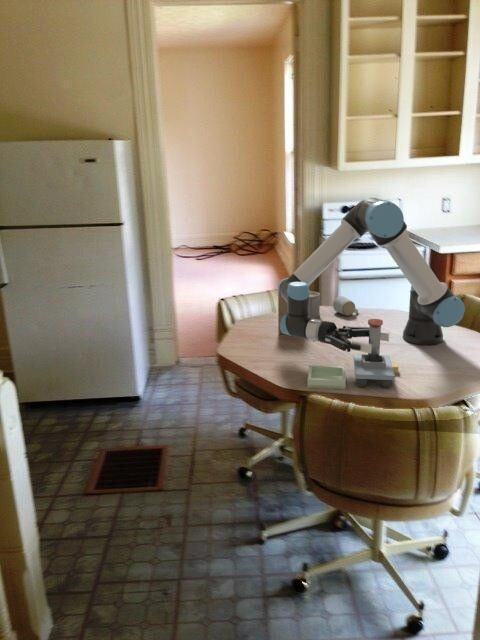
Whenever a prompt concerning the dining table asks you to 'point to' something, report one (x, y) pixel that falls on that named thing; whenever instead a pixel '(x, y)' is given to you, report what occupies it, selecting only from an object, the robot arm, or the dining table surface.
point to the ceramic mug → (344, 306)
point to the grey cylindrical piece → (314, 304)
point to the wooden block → (281, 310)
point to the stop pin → (374, 339)
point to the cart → (374, 370)
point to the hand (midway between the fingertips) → (380, 343)
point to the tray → (326, 377)
